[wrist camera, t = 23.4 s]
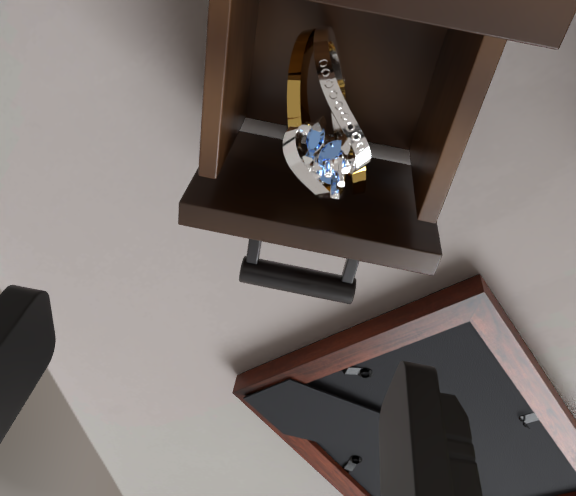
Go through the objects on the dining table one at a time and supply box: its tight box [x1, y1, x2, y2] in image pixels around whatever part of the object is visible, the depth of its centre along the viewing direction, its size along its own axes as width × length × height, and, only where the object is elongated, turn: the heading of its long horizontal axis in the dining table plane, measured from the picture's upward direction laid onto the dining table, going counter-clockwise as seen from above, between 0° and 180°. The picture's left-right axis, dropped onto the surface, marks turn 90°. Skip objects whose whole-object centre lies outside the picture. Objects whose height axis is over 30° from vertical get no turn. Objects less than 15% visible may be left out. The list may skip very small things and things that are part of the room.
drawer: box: [178, 0, 507, 304], centre depth 24 cm, size 18×11×8 cm, turn 171°
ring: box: [283, 26, 371, 200], centre depth 23 cm, size 7×3×8 cm, turn 10°
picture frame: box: [233, 274, 576, 496], centre depth 43 cm, size 20×2×25 cm
